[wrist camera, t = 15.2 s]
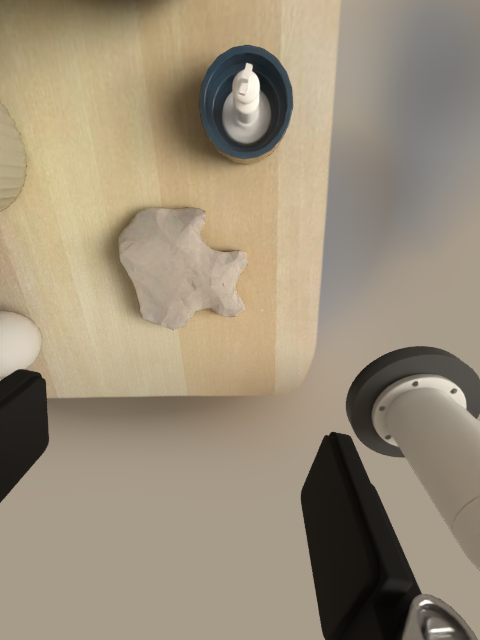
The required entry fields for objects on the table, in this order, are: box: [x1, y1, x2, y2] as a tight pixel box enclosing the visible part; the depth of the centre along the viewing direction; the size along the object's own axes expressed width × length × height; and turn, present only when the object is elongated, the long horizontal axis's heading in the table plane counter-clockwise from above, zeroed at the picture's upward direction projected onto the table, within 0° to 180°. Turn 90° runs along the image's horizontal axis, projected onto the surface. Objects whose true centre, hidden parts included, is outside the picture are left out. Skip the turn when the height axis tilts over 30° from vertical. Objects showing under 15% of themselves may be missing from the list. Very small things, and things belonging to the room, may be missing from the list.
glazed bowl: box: [199, 45, 293, 164], centre depth 27 cm, size 8×8×4 cm
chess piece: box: [222, 63, 272, 146], centre depth 23 cm, size 5×5×10 cm
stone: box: [118, 207, 248, 330], centre depth 33 cm, size 14×4×15 cm
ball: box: [0, 311, 42, 377], centre depth 35 cm, size 8×8×8 cm
